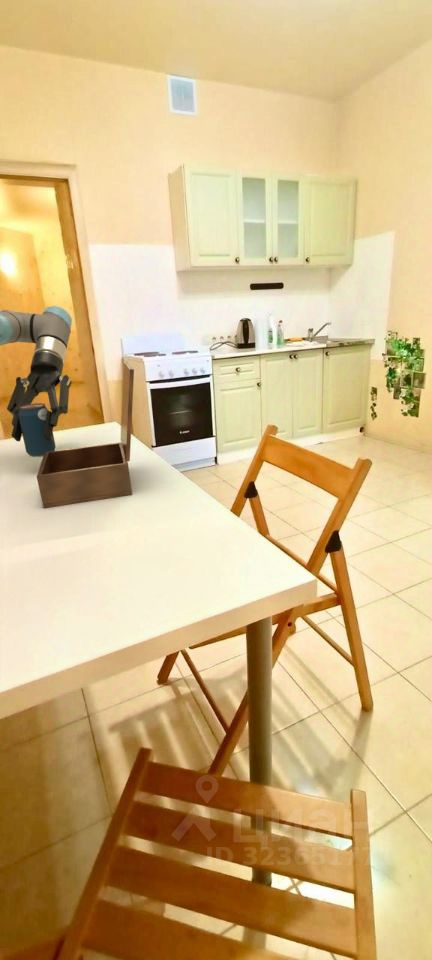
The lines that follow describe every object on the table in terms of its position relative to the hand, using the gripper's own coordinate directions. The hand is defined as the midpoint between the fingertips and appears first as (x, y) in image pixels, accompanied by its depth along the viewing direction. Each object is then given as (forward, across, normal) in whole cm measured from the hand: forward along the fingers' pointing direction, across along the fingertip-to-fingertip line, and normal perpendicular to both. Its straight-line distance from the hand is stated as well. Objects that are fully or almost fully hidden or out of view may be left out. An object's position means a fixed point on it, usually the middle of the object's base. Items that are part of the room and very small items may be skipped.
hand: (31, 438), depth 106 cm
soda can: (+1, 0, -6) cm, 6 cm away
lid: (-1, -25, +9) cm, 27 cm away
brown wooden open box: (+13, -16, 0) cm, 20 cm away
